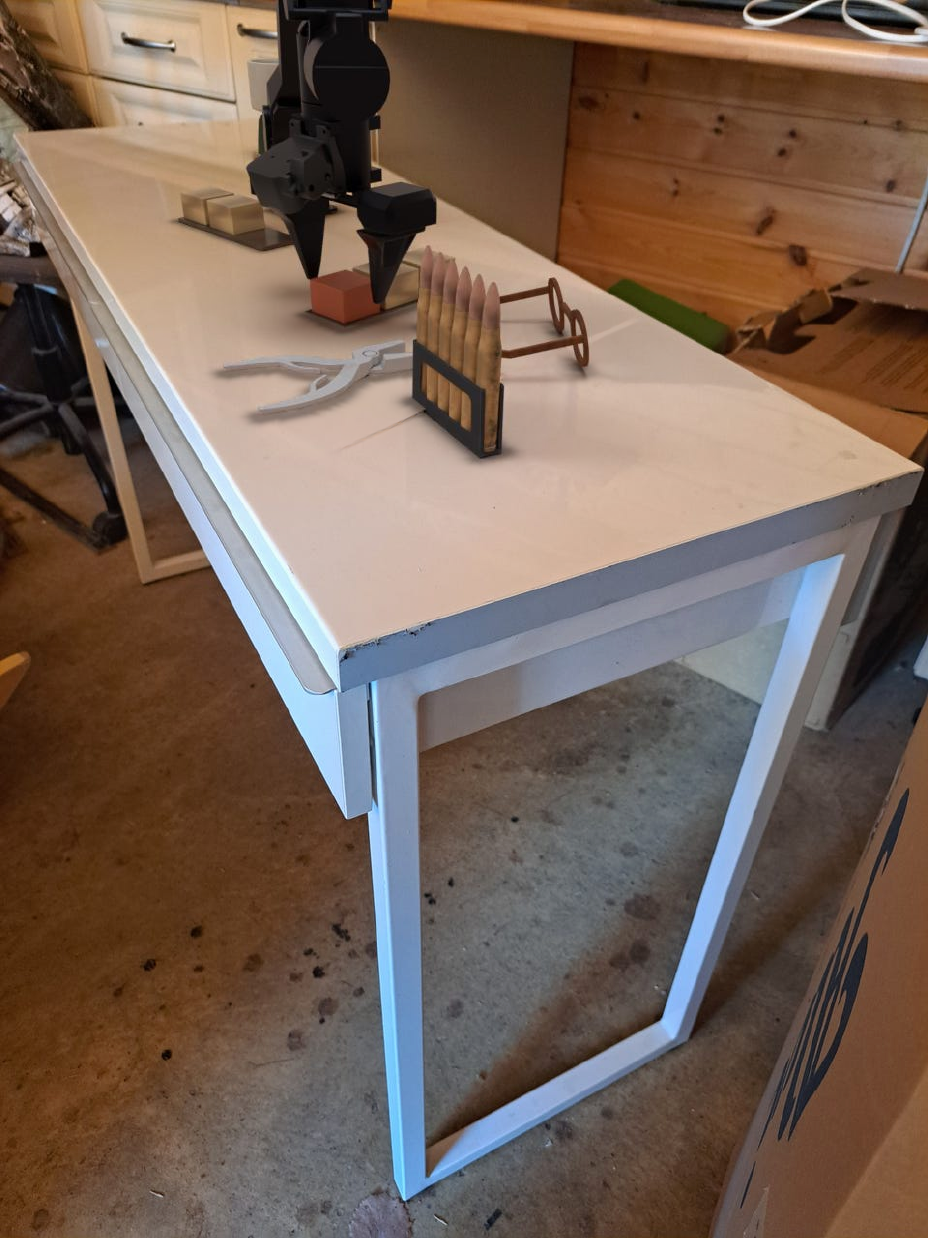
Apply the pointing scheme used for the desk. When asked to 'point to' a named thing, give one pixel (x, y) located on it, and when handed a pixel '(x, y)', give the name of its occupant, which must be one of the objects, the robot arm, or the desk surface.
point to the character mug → (260, 88)
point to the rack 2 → (395, 285)
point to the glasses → (558, 324)
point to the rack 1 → (230, 217)
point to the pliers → (362, 364)
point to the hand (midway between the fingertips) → (344, 290)
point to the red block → (343, 296)
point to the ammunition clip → (459, 354)
